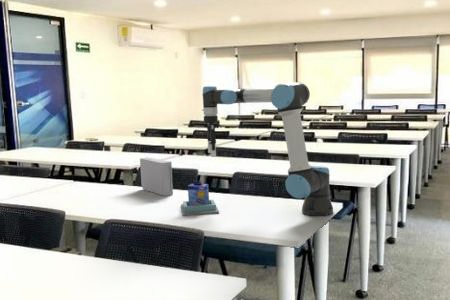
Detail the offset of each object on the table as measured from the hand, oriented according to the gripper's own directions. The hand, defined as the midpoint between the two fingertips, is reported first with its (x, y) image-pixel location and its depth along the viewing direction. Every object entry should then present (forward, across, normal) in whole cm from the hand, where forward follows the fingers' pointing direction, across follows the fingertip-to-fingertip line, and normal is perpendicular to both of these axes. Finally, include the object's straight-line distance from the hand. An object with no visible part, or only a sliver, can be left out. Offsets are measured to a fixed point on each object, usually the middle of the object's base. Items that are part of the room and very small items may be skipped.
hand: (212, 154), depth 267 cm
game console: (+27, -36, -31) cm, 55 cm away
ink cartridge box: (+26, +13, -9) cm, 30 cm away
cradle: (+27, +13, -9) cm, 31 cm away
